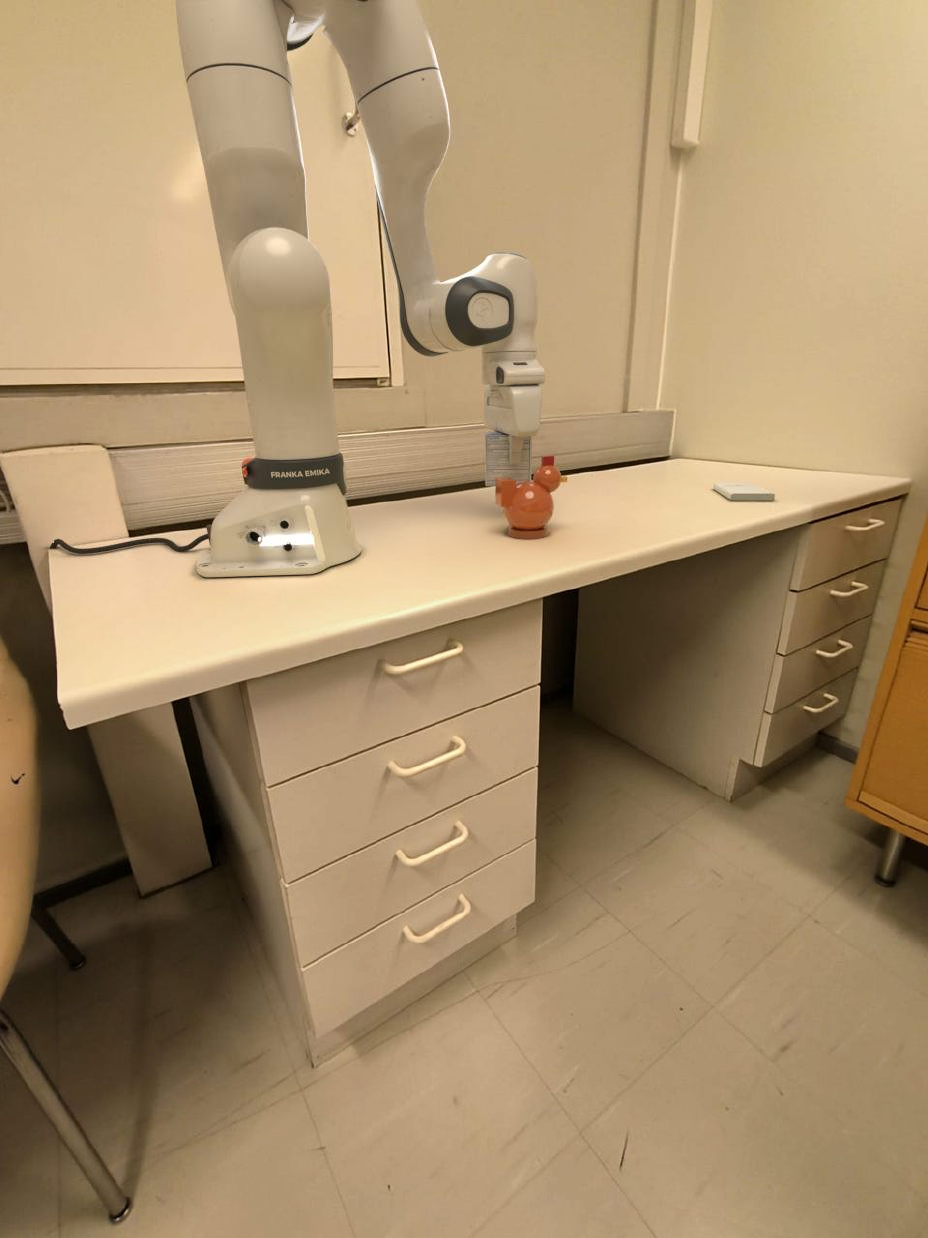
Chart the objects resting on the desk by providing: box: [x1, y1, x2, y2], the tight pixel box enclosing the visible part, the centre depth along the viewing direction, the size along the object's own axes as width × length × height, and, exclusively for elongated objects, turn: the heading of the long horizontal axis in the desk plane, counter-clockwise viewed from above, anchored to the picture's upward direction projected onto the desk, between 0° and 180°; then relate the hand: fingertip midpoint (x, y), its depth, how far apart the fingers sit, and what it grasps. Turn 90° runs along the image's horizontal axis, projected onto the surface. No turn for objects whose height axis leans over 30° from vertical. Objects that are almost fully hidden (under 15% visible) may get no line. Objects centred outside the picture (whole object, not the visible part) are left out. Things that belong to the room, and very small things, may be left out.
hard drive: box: [712, 482, 776, 502], centre depth 116 cm, size 2×8×12 cm
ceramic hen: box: [494, 454, 568, 540], centre depth 89 cm, size 11×8×12 cm
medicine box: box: [484, 431, 533, 487], centre depth 97 cm, size 8×4×9 cm, turn 84°
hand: (508, 460), depth 97 cm, fingers closed on medicine box, 5 cm apart
